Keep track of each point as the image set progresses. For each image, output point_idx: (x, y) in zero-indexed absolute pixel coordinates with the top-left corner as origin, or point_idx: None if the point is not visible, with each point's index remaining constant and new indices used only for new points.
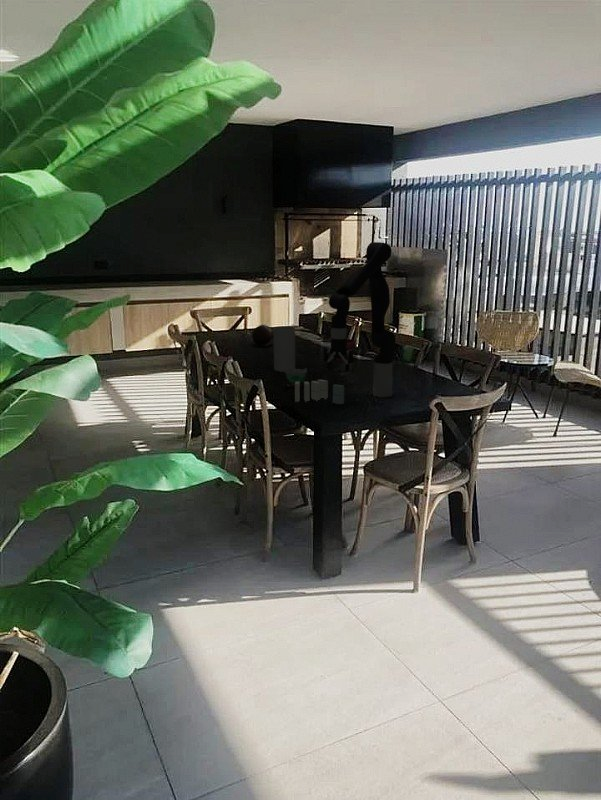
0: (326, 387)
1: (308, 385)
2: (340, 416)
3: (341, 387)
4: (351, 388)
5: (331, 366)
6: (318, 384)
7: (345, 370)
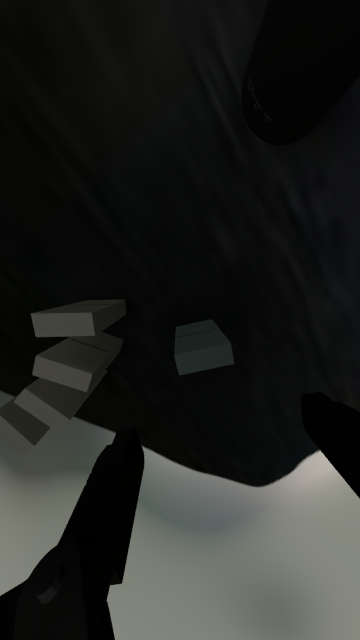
0: (108, 318)
1: (71, 417)
2: (274, 430)
3: (226, 362)
4: (88, 64)
5: (125, 460)
6: (93, 378)
7: (318, 443)
